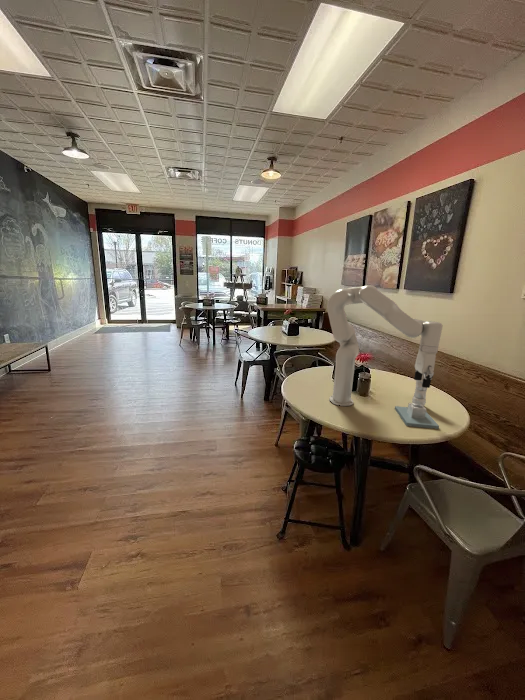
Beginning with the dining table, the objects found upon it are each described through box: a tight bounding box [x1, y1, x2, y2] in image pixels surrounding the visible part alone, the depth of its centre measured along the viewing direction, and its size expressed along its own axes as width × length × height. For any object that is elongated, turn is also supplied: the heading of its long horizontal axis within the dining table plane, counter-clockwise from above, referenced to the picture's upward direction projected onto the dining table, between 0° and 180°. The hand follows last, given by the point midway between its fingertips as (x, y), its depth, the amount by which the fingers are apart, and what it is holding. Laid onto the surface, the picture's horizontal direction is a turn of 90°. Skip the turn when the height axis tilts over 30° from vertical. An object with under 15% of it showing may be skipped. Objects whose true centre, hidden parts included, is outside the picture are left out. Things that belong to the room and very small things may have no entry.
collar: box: [407, 402, 427, 419], centre depth 141 cm, size 6×6×5 cm
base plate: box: [394, 405, 440, 430], centre depth 141 cm, size 18×14×6 cm
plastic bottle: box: [411, 372, 428, 407], centre depth 154 cm, size 6×7×20 cm
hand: (421, 383), depth 138 cm, fingers open, 9 cm apart
